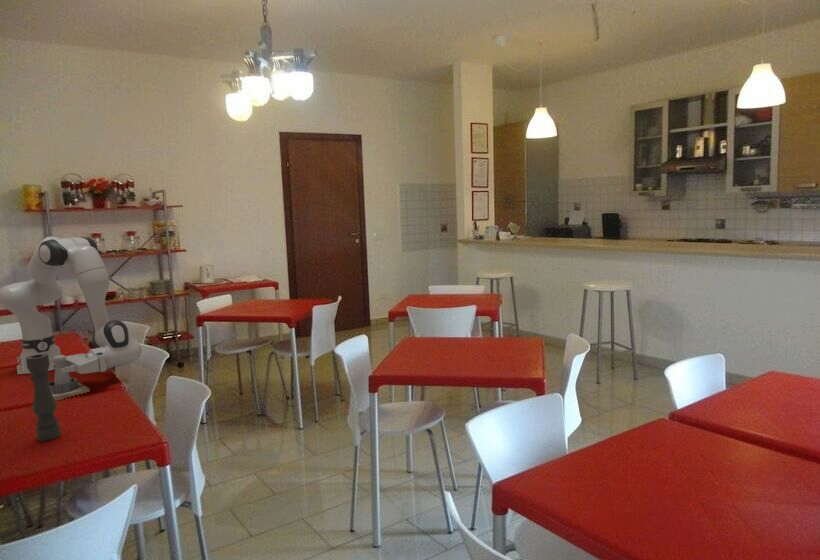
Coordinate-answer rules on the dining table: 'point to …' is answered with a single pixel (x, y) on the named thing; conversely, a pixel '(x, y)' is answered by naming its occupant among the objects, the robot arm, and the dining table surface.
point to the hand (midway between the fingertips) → (57, 368)
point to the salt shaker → (59, 376)
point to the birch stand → (72, 392)
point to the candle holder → (43, 398)
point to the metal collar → (63, 387)
